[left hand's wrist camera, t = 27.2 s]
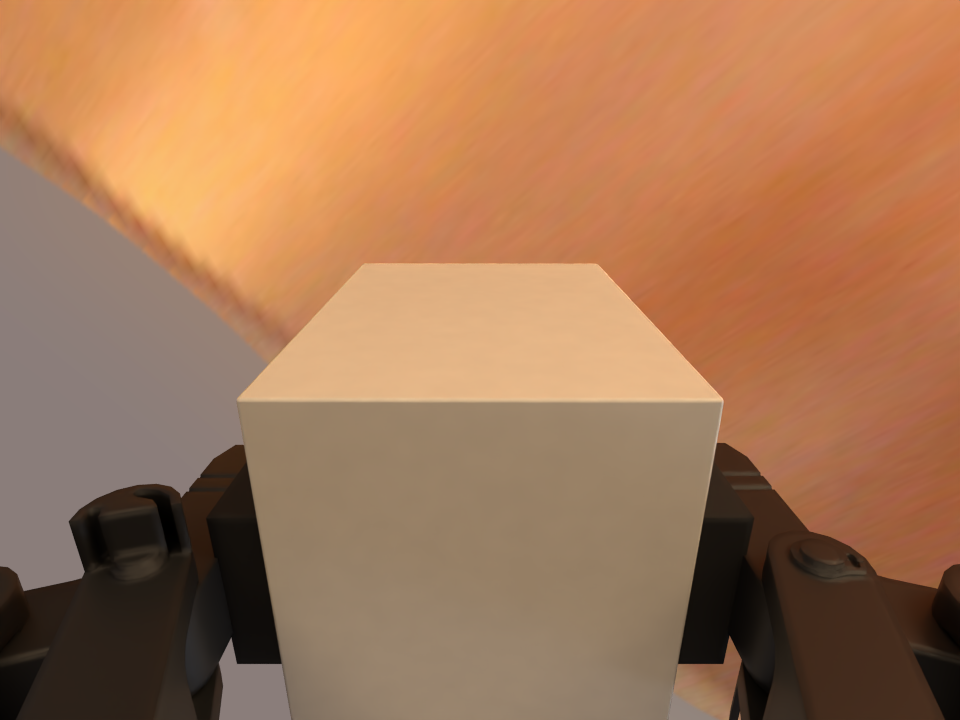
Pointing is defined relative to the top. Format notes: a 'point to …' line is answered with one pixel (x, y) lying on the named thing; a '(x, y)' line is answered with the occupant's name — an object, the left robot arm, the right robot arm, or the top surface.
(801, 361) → the top surface
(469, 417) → the block
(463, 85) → the top surface
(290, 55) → the top surface
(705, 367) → the top surface
